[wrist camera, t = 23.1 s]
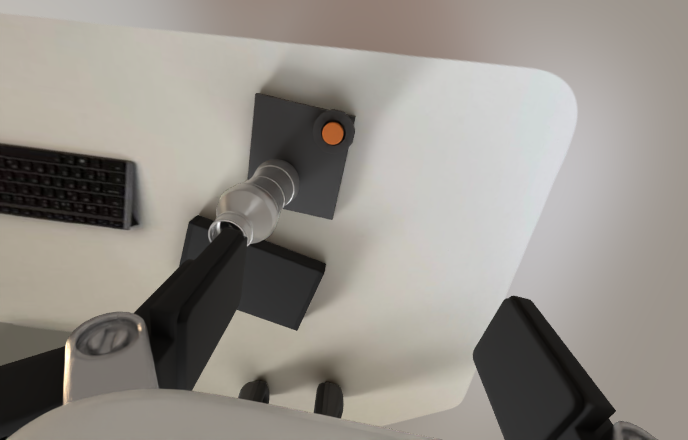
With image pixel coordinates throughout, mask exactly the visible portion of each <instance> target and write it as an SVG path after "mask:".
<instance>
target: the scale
mask: <svg viewBox="0 0 688 440" xmlns="http://www.w3.org/2000/svg"><path fill="white" fill-rule="evenodd" d="M330 122H337V123H339V124H340V125H341V126H342V128H343V131H344V134H343V138H342V140H341V141H340V142H339V143H337V144H335V145H331V144H328V143H326V142H325V141H324V139H323V137H322V131H323V128H324V127H325V126H326V125H327V124H328V123H330ZM354 122H355V116H352V115H348V114H346V113H345V112H343V111H339V110H335V109H332V110H327V109H323V108H319V107H314V106H310V105H306V104H302V103H298V102H294V101H289V100H285V99H281V98H277V97H273V96H268V95H264V94H260V93H256V94H255V105H254V116H253V127H252V138H251V149H250V160H249V171H248V180H249V179H251V178H252V177H253V175H254V173H255V171H256V170H257V168H258V167H259V166H260V165H261V164H262V163H264V162H265V161H268V160H273V159H279V160H283V161H286V162H288V163H289V164H291V165H292V166H293V167H294V168H295V170H296V171H297V173H298V176H299V181H300V183H299V191H298V193H297V195H296V197H295V198H294V199H293V200H292V201H291V202H290V203H288V204H286V205H285V206H284V207H283V208H282V209H286V210H290V211H295V212H299V213H304V214H308V215H313V216H317V217H322V218H326V219H331V220H332V219H333V215H334V210H335V206H336V201H337V197H338V192H339V188H340V184H341V179H342V175H343V170H344V166H345V161H346V157H347V153H348V148H349V146H350V145H351V144H352V142H353V138H354V134H355V129H354Z"/></svg>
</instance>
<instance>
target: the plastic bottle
mask: <svg viewBox="0 0 688 440" xmlns="http://www.w3.org/2000/svg"><path fill="white" fill-rule="evenodd" d="M299 183H300V181H299V176H298V173H297V171H296V170H295V168H294V167H293V166H292V165H291V164H289V163H288V162H286V161H283V160H279V159H273V160H268V161H265V162H264V163H262V164H261V165H260V166H259V167H258V168H257V170H256V171H255V173H254V175H253V177H252V178H251V179H249V180H247V181H246V182H243V183H240V184H238V185H235V186H233V187H231V188H229V189H228V190H226V191H225V192H224V193H223V194H222V196H221V197H220V200H219V202H218V205H217V210H216V214H217V218H216V219H215V221H214V222H213V223H212V224H211V226H210V228H209V231H208V237H209V240H210V242H212V241H213V240H214V239H215V238H216V237H217V236H218V235H219V234H220V233H221V231H222V230H223V229H224V228H230V229H234V230H238V231H242V232H243V236H245V237H247V238H248V242H247V246H248V245H249V244H253V243H258V242H260V241H262V240H264V239H266V238H268V237H269V236H270V235H271V234H272V233H273V231H274V229H275V227H276V225H277V223H278V219H279V215H280V212H281V210H282V208H283V207H284V206H285V205H286V204H288V203H290V202H291V201H292V200H293V199H294V198H295V197H296V195H297V193H298V191H299Z"/></svg>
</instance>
